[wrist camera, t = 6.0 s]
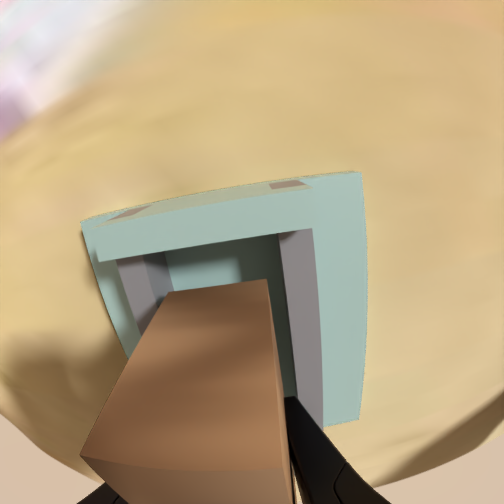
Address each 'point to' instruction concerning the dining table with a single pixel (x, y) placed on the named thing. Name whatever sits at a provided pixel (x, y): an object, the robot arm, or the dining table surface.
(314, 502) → the robot arm
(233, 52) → the dining table surface
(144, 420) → the brown wooden block
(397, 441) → the dining table surface
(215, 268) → the light blue tray
